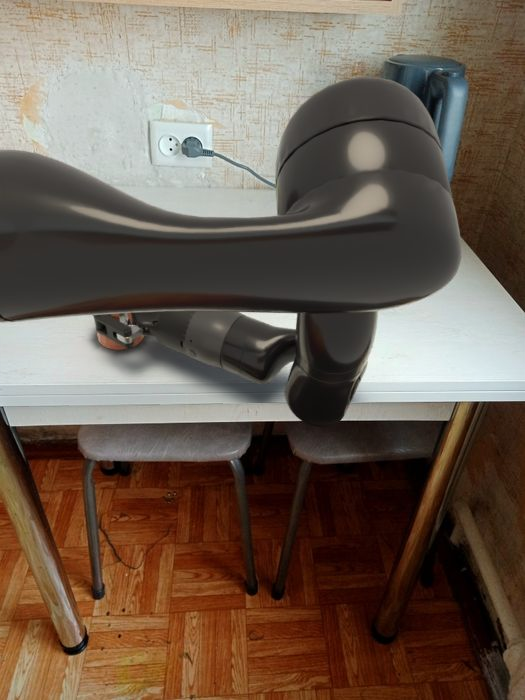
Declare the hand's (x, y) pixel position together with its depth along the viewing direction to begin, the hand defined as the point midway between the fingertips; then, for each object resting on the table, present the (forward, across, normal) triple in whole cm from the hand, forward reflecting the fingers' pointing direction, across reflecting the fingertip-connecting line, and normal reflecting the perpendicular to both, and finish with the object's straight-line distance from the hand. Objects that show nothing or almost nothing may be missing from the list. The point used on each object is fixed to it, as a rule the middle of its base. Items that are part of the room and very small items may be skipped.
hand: (102, 288), depth 68 cm
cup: (-2, 0, +7) cm, 7 cm away
